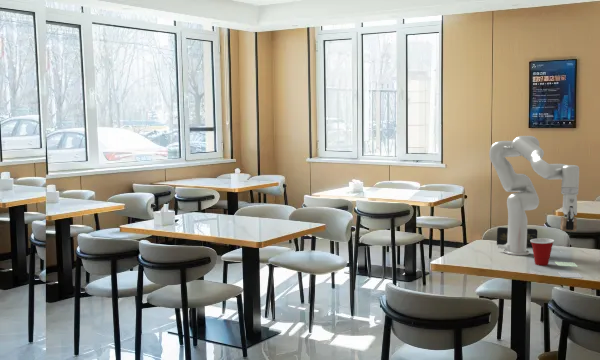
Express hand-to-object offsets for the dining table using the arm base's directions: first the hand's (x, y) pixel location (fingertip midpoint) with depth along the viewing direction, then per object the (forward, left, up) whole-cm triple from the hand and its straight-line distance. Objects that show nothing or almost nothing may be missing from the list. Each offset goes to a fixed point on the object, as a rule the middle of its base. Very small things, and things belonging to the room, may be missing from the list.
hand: (568, 228), depth 311 cm
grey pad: (-3, -24, -17) cm, 30 cm away
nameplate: (-17, +45, -18) cm, 51 cm away
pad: (0, 0, -17) cm, 17 cm away
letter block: (0, 0, -1) cm, 1 cm away
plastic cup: (-12, -3, -18) cm, 22 cm away
